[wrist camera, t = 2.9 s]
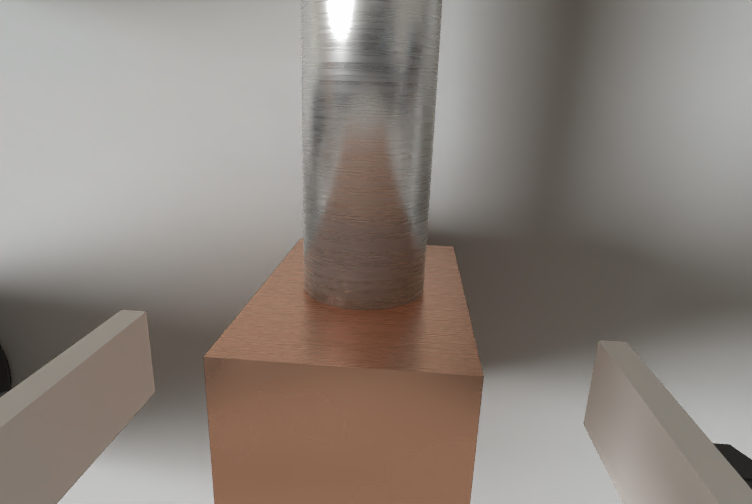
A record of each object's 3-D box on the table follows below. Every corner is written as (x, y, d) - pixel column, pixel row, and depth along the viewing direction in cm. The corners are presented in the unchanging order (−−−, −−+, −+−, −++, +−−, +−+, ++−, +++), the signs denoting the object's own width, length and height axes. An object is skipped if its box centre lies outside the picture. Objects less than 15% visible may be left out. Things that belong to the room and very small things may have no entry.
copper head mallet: (293, -412, 12) (78, -1284, 4) (507, -419, 12) (672, -1374, 4) (302, 396, 19) (222, 605, 11) (440, 406, 18) (456, 630, 11)
